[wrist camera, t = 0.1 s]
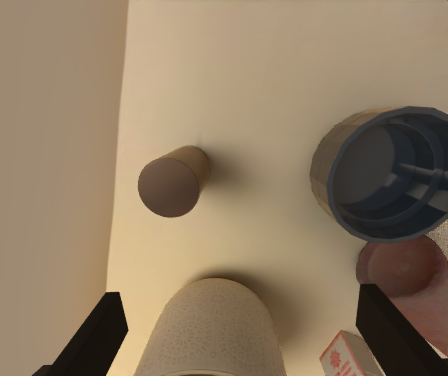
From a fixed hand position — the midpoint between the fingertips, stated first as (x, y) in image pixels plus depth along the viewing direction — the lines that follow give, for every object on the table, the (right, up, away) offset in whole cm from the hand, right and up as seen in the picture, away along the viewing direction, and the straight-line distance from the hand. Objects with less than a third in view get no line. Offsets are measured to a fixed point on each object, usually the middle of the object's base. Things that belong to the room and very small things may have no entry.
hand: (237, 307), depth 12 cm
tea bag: (+18, -20, +25) cm, 37 cm away
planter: (-2, -12, +23) cm, 26 cm away
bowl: (+17, +9, +16) cm, 25 cm away
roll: (-5, +9, +17) cm, 20 cm away
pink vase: (+26, -8, +21) cm, 35 cm away
